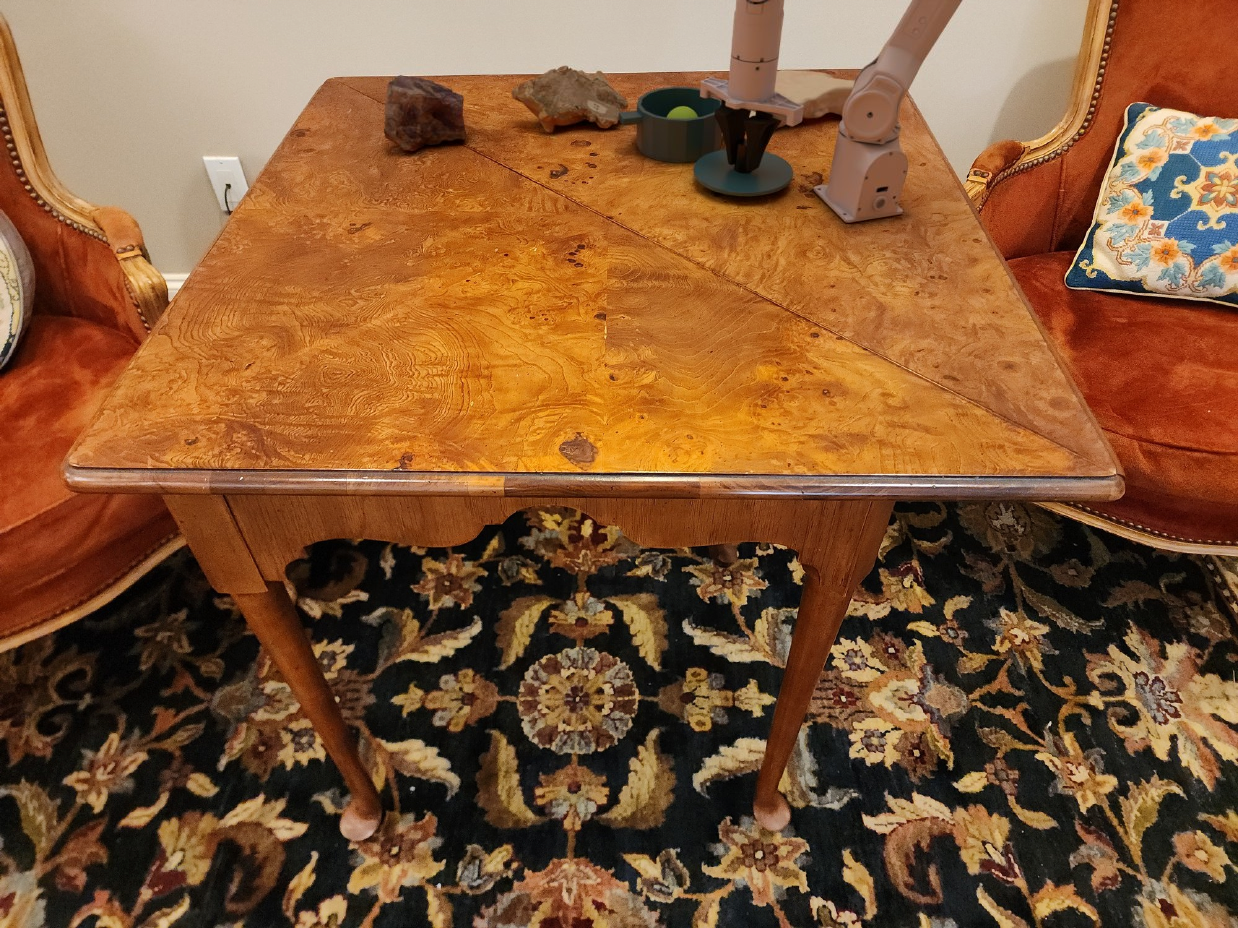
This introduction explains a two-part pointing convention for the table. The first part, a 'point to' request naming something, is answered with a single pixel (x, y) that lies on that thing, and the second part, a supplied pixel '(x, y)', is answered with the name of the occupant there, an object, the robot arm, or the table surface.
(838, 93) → the decorative stone
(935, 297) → the table surface
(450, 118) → the rock
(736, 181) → the lid
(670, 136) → the pot
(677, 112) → the ball
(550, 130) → the mineral specimen
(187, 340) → the table surface
